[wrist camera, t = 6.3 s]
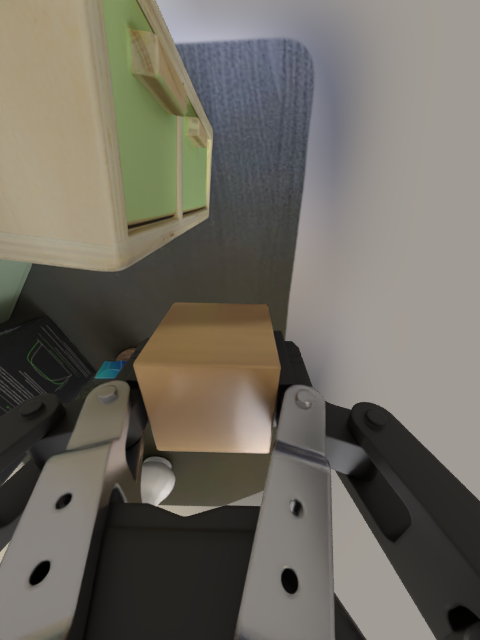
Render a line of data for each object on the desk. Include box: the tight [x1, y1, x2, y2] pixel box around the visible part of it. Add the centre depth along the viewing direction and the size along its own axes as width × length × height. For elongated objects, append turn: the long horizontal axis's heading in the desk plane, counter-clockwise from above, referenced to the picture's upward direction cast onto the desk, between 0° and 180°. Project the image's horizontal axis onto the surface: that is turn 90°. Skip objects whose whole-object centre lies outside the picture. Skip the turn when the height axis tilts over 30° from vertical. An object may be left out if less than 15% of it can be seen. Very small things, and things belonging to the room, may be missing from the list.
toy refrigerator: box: [0, 0, 213, 272], centre depth 14 cm, size 8×7×21 cm
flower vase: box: [141, 456, 175, 506], centre depth 38 cm, size 13×18×25 cm
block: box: [133, 303, 281, 453], centre depth 9 cm, size 4×4×4 cm
